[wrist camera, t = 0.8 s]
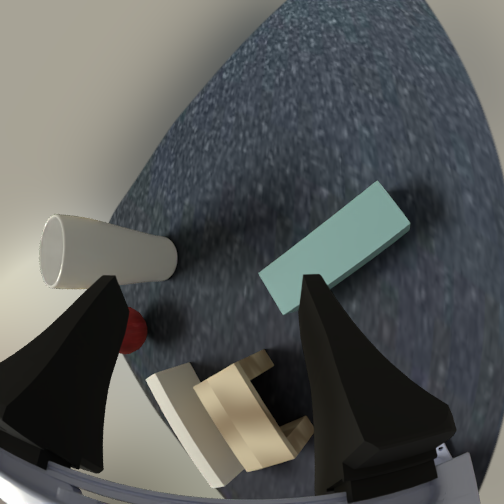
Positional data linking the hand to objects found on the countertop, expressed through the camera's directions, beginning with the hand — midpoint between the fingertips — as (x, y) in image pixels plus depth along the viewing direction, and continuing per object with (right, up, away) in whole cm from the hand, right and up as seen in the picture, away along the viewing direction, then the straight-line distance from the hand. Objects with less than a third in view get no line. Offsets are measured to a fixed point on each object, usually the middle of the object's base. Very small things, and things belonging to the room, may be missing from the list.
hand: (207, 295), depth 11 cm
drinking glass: (-9, +1, +24) cm, 26 cm away
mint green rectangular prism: (+9, +2, +14) cm, 17 cm away
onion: (-12, -8, +25) cm, 29 cm away
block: (+3, -13, +16) cm, 21 cm away
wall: (-3, -17, +19) cm, 26 cm away
